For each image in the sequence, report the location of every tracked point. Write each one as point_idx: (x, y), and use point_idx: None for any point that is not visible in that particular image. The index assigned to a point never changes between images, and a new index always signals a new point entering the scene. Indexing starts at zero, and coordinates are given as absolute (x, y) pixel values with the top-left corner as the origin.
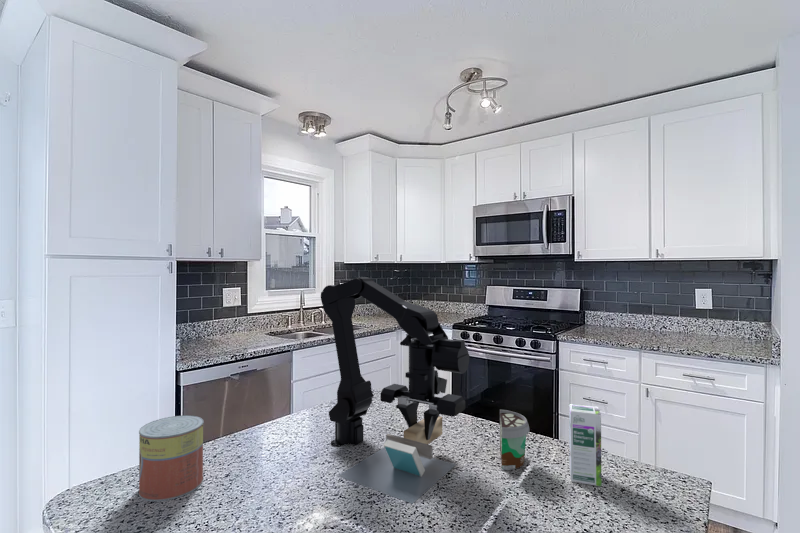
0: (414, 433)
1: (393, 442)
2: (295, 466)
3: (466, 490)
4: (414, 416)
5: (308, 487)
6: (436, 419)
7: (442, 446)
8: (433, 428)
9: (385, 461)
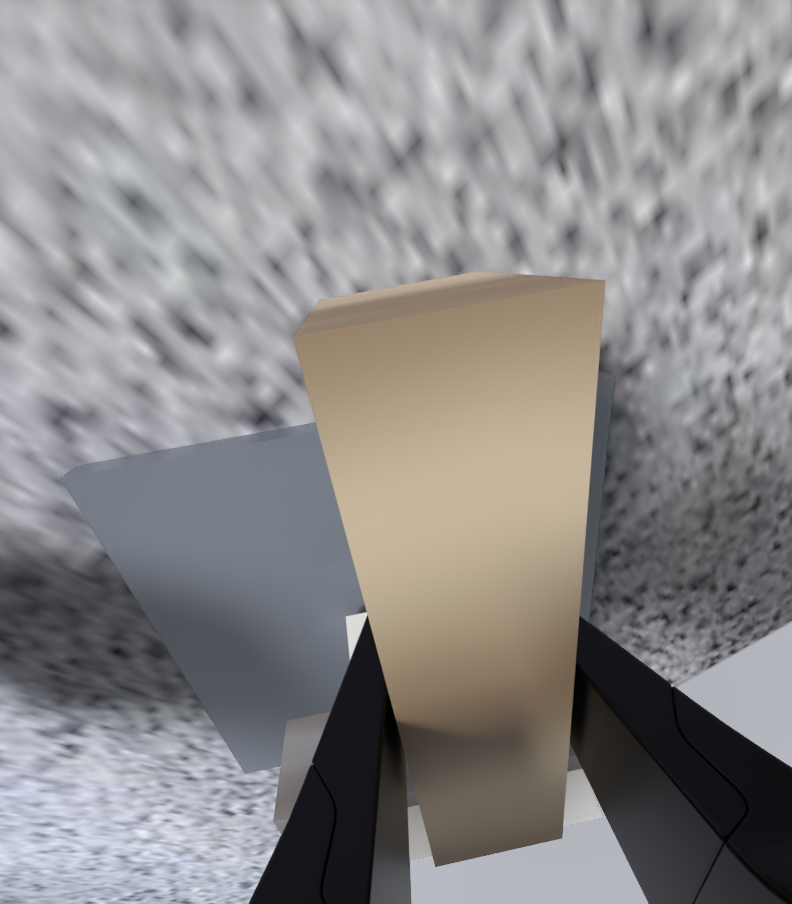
0: (546, 839)
1: (428, 852)
2: (38, 808)
3: (711, 505)
4: (388, 872)
5: (229, 813)
6: (766, 771)
7: (329, 103)
8: (619, 649)
9: (270, 615)
